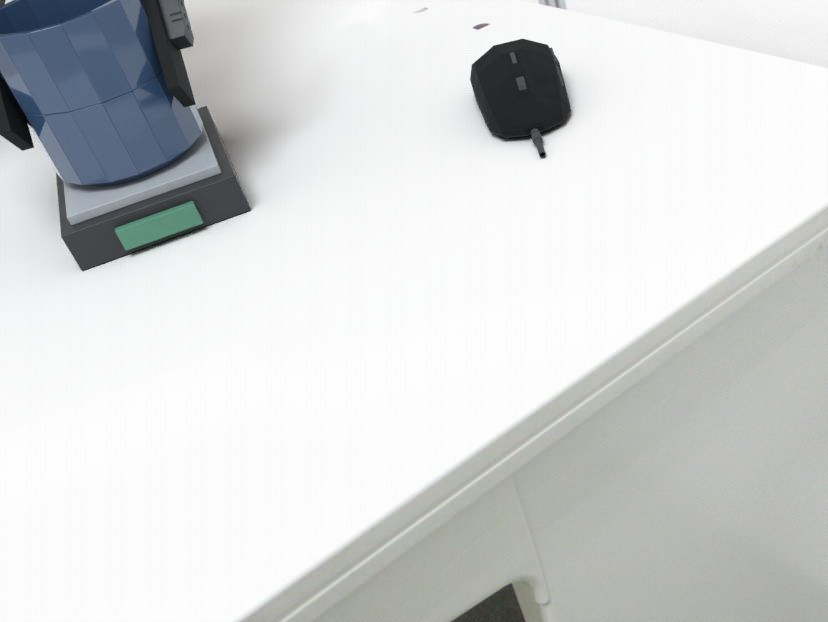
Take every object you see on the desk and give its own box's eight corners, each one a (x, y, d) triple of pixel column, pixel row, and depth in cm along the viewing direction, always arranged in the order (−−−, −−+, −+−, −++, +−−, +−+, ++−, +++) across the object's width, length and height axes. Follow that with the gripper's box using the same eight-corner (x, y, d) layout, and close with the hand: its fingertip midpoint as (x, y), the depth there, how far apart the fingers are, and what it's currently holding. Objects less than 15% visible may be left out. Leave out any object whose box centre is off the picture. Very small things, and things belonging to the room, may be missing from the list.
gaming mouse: (495, 170, 68) (478, 110, 66) (471, 85, 79) (456, 30, 77) (591, 145, 69) (578, 84, 66) (554, 63, 80) (542, 8, 77)
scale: (72, 188, 78) (49, 148, 76) (221, 137, 80) (202, 97, 78) (82, 275, 67) (55, 231, 65) (252, 213, 70) (232, 169, 68)
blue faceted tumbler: (35, 199, 69) (-58, 45, 63) (106, 131, 76) (29, -15, 70) (168, 185, 68) (86, 24, 61) (229, 116, 74) (161, -35, 68)
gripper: (202, -215, 73) (292, 97, 71) (-130, -132, 71) (-44, 187, 70) (157, -303, 65) (257, 43, 64) (-214, -213, 64) (-120, 143, 63)
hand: (99, 118), depth 67 cm, fingers closed on blue faceted tumbler, 10 cm apart
